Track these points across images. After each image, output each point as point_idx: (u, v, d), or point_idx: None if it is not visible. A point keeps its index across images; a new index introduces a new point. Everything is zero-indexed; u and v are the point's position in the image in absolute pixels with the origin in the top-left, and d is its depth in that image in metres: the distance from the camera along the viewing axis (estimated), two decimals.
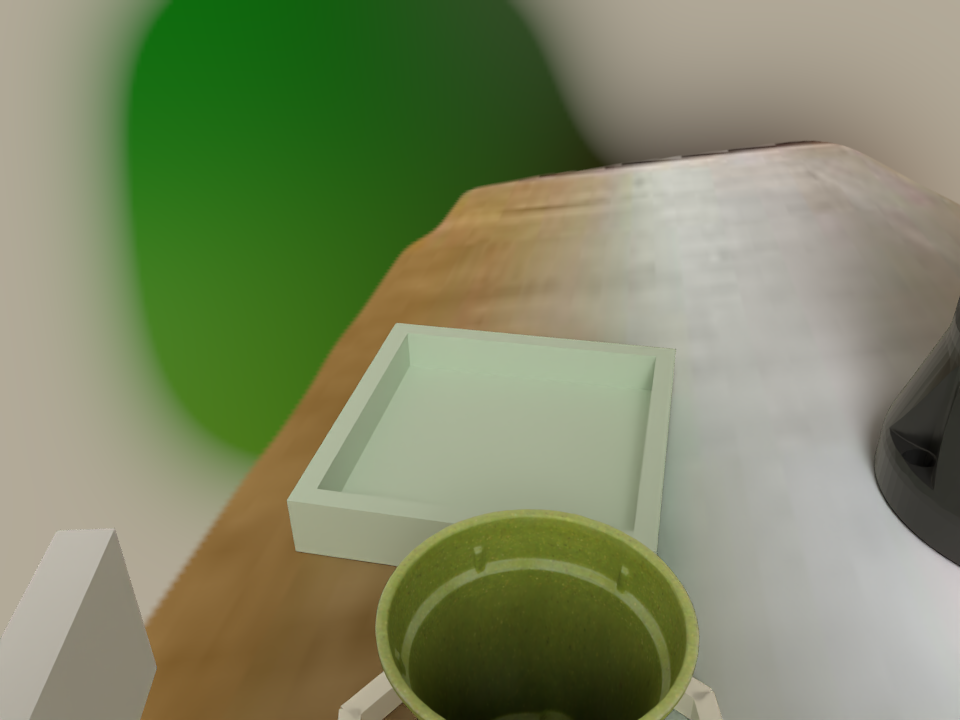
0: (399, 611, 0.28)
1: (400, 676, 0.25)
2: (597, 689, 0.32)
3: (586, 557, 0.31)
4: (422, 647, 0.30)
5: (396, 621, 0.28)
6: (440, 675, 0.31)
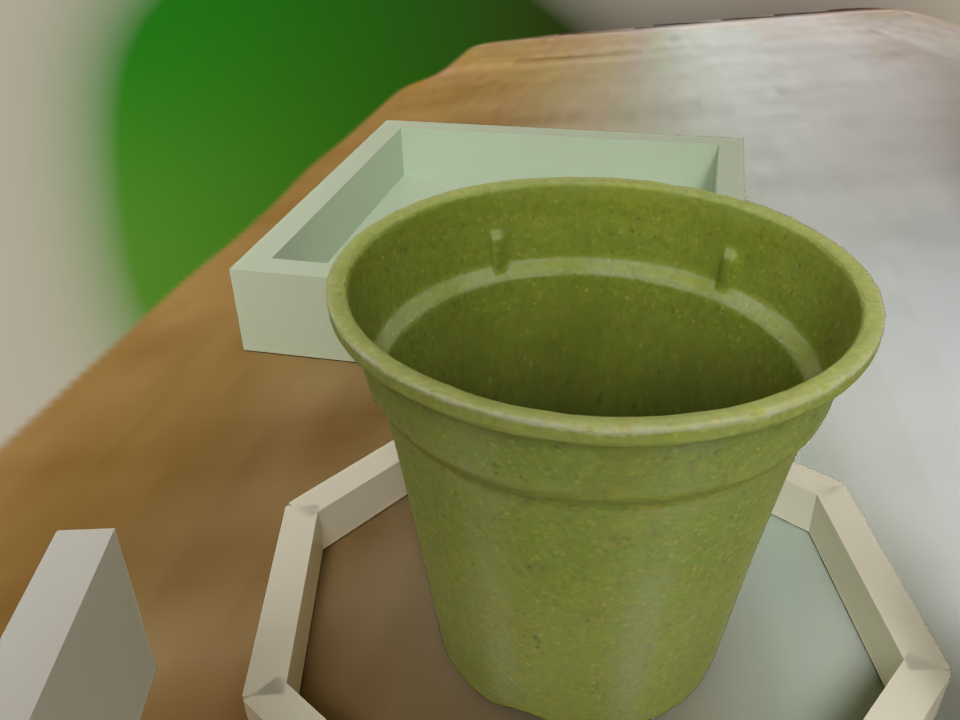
0: (369, 287, 0.17)
1: (364, 335, 0.14)
2: None
3: (666, 248, 0.20)
4: None
5: (364, 297, 0.17)
6: None
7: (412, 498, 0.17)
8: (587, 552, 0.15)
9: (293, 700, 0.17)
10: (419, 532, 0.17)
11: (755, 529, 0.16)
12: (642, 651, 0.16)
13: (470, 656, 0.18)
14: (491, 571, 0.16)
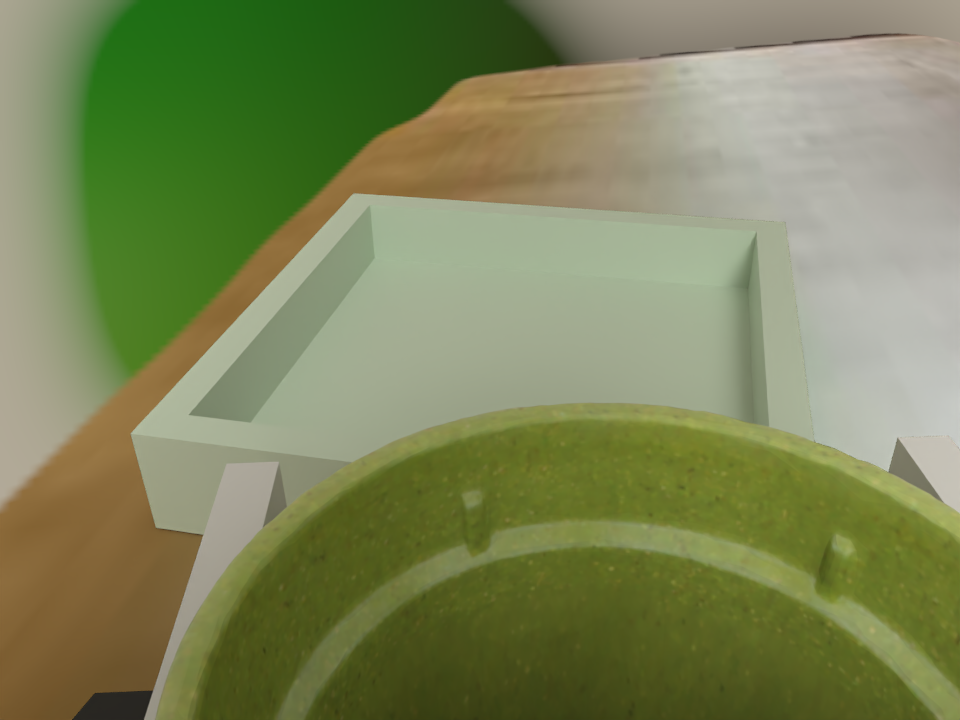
0: (253, 655, 0.10)
1: None
2: None
3: (735, 516, 0.13)
4: None
5: (241, 684, 0.10)
6: None
7: None
8: None
9: None
10: None
11: None
12: None
13: None
14: None
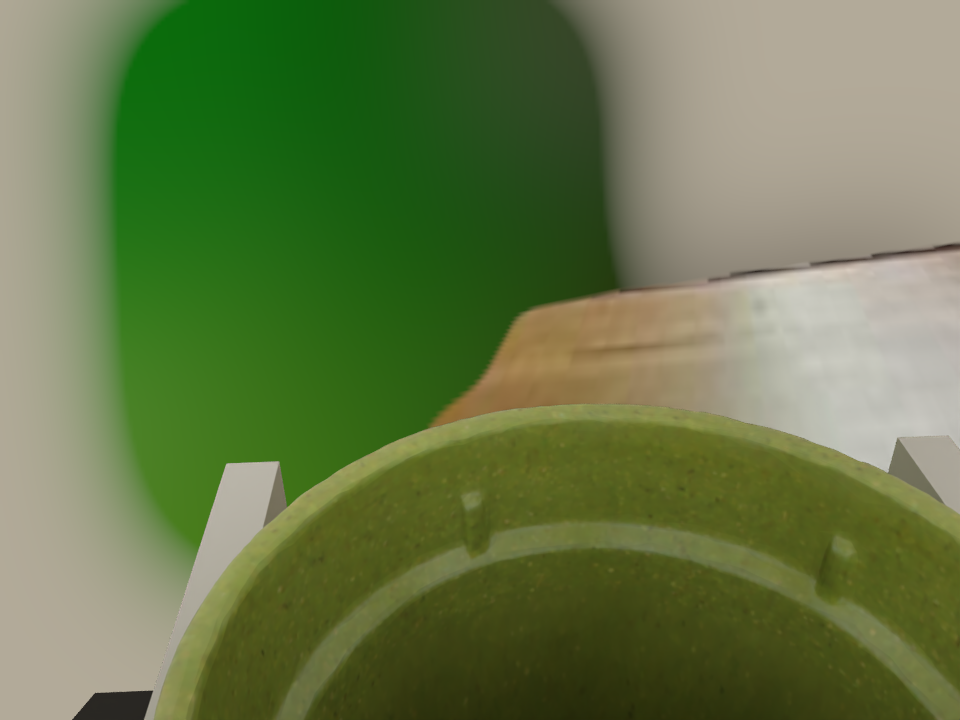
0: (253, 657, 0.10)
1: None
2: None
3: (735, 518, 0.13)
4: None
5: (239, 687, 0.10)
6: None
7: None
8: None
9: None
10: None
11: None
12: None
13: None
14: None
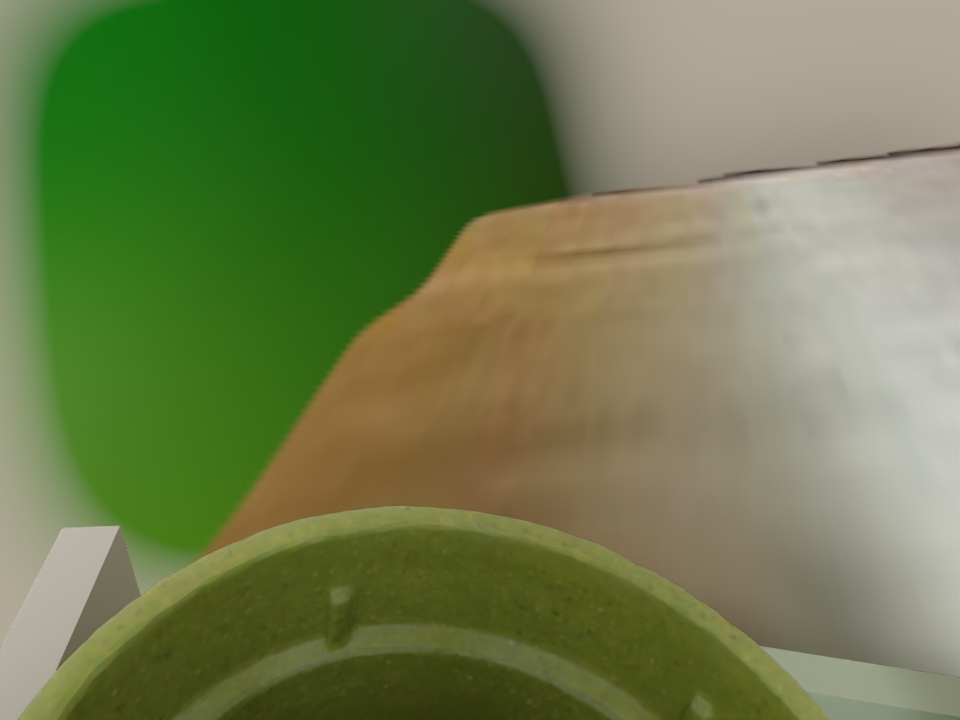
0: None
1: None
2: None
3: (603, 653, 0.13)
4: None
5: None
6: None
7: None
8: None
9: None
10: None
11: None
12: None
13: None
14: None
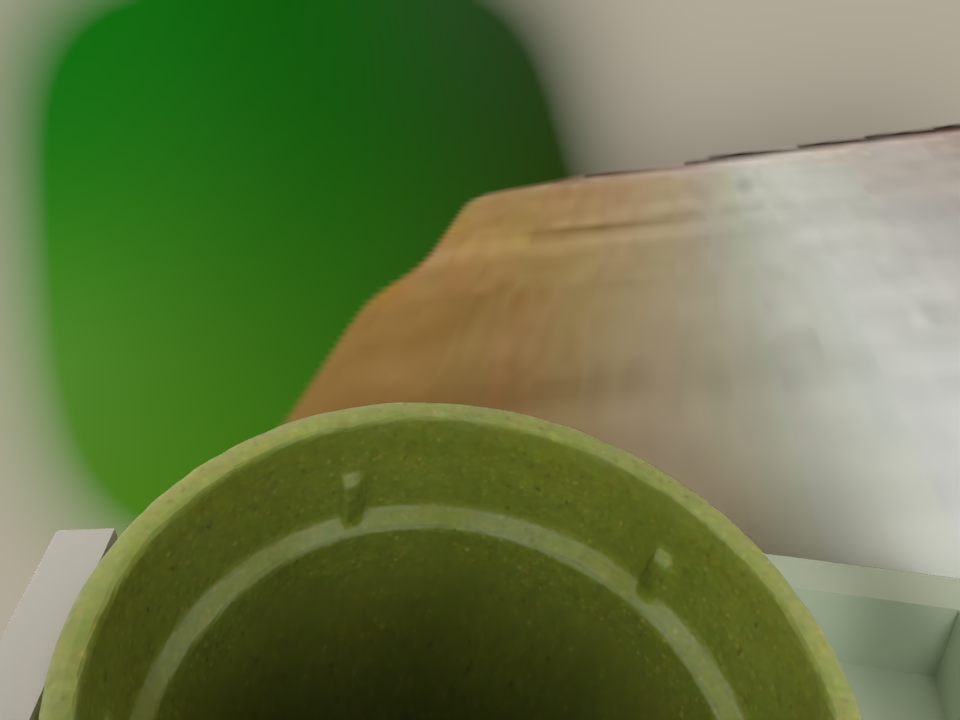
0: (138, 614, 0.11)
1: None
2: None
3: (579, 520, 0.15)
4: (199, 686, 0.13)
5: (124, 641, 0.11)
6: None
7: None
8: None
9: None
10: None
11: None
12: None
13: None
14: None
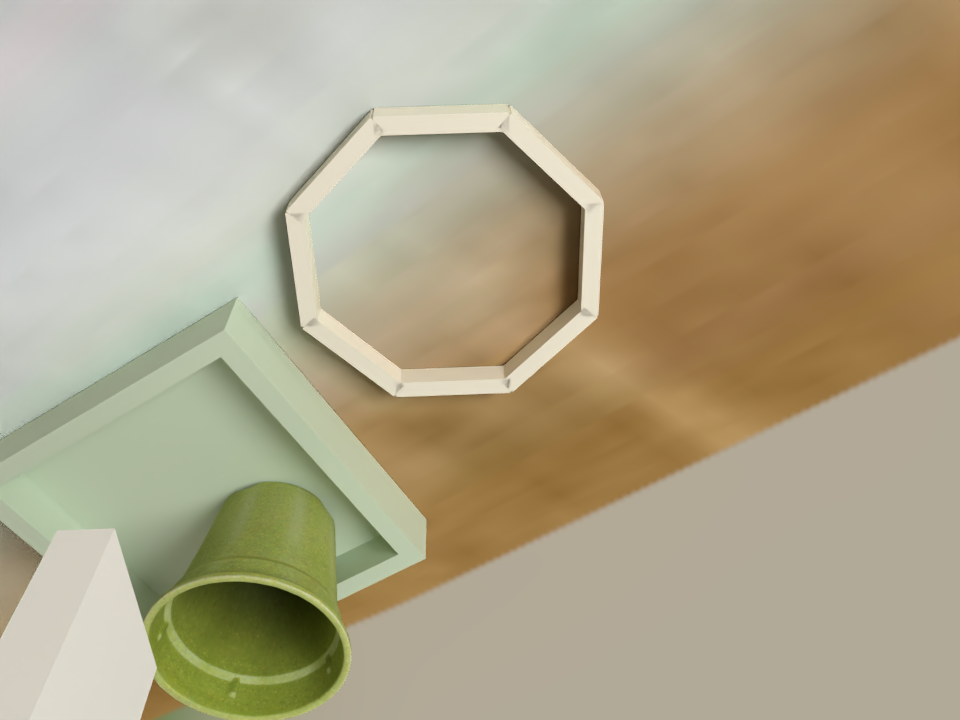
0: (309, 690, 0.44)
1: (343, 667, 0.42)
2: None
3: (171, 653, 0.43)
4: (301, 654, 0.45)
5: (315, 686, 0.44)
6: (293, 626, 0.47)
7: None
8: (311, 562, 0.43)
9: (584, 303, 0.42)
10: None
11: (247, 535, 0.42)
12: (296, 515, 0.45)
13: None
14: (332, 570, 0.44)
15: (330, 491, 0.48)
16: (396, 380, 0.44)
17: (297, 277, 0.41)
